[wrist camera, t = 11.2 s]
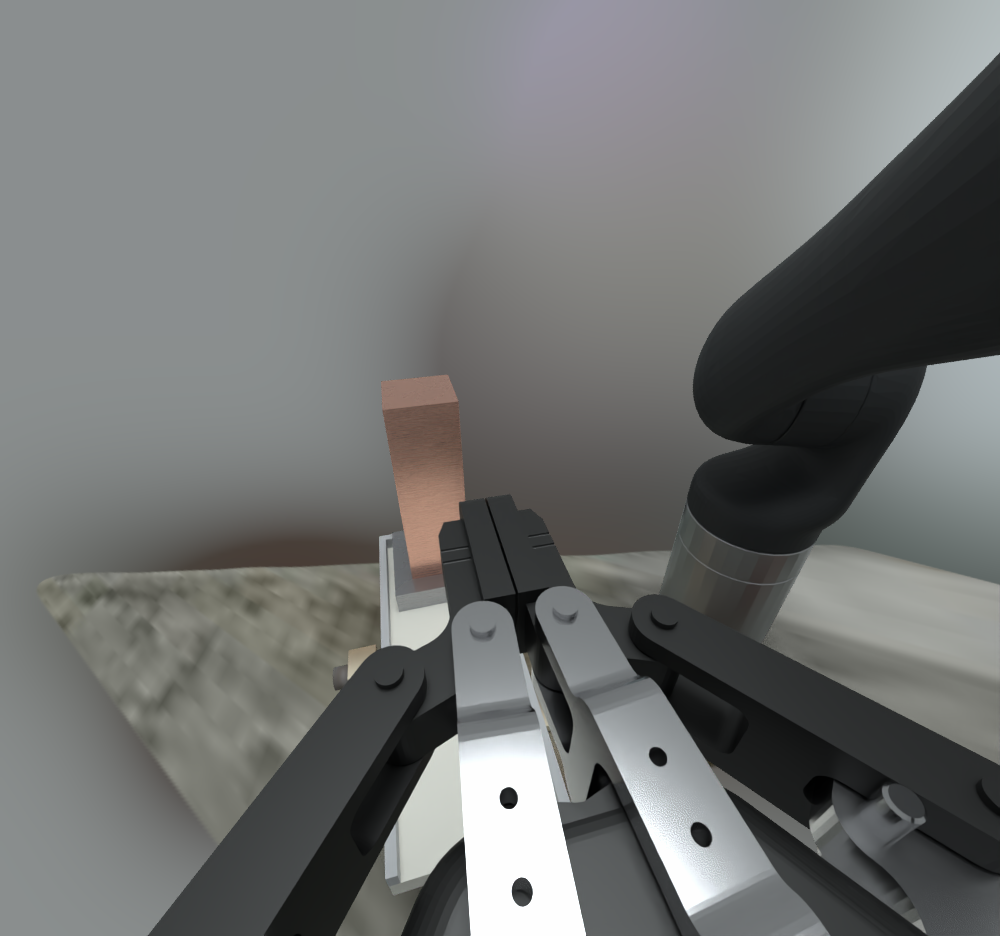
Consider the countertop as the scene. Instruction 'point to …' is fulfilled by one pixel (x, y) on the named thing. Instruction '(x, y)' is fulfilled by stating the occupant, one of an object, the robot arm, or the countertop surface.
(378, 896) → the countertop surface
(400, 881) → the beam
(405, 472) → the block
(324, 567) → the countertop surface
